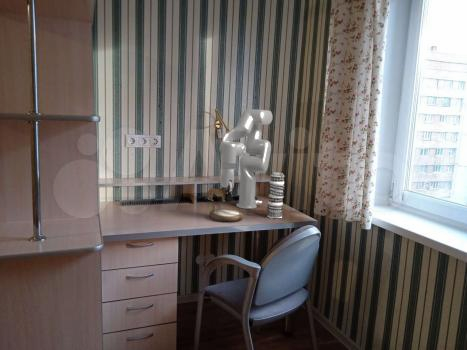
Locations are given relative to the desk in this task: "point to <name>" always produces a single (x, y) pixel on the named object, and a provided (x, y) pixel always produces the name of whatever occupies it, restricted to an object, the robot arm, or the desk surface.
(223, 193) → the lion figurine
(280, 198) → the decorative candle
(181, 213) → the desk surface
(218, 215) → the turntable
